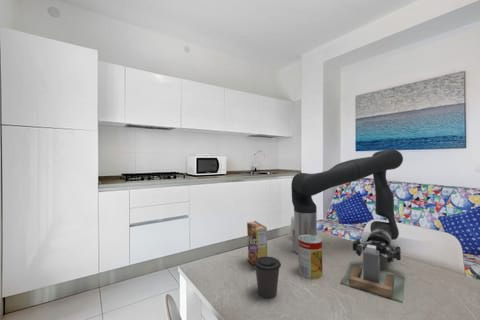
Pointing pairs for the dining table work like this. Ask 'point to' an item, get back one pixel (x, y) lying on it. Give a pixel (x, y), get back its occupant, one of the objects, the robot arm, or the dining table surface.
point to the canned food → (310, 256)
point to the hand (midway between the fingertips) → (373, 256)
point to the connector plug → (371, 264)
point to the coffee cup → (267, 276)
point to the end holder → (386, 288)
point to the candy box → (256, 241)
